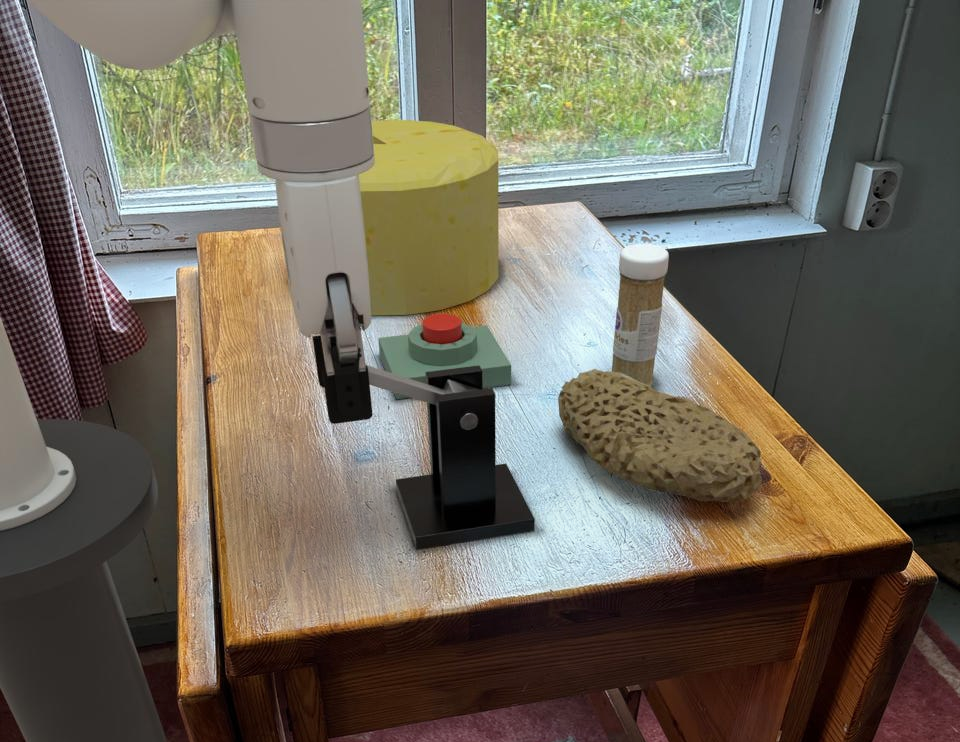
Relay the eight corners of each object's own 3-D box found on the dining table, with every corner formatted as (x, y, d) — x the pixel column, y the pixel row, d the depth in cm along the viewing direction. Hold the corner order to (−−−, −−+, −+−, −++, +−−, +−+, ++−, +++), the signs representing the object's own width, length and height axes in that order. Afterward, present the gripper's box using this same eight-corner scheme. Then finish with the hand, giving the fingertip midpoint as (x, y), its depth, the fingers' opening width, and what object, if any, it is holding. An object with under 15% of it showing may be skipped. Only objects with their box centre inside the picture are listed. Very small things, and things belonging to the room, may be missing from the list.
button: (427, 348, 98) (426, 331, 97) (419, 332, 101) (418, 316, 100) (465, 343, 99) (465, 327, 98) (457, 327, 102) (456, 311, 101)
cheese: (290, 244, 131) (273, 121, 121) (481, 231, 134) (480, 110, 124) (294, 323, 112) (273, 185, 102) (516, 306, 114) (518, 170, 104)
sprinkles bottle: (601, 378, 100) (611, 246, 92) (639, 369, 102) (653, 239, 93) (623, 397, 97) (636, 262, 88) (662, 388, 99) (679, 254, 90)
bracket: (416, 549, 79) (406, 418, 71) (396, 490, 85) (385, 365, 77) (534, 530, 80) (538, 401, 72) (506, 474, 87) (506, 350, 79)
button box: (396, 399, 98) (393, 362, 95) (379, 357, 105) (376, 321, 102) (511, 384, 100) (511, 347, 97) (487, 344, 107) (486, 308, 104)
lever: (329, 393, 70) (340, 363, 69) (321, 363, 74) (331, 334, 73) (477, 437, 75) (490, 410, 74) (462, 407, 79) (474, 380, 78)
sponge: (541, 445, 93) (633, 518, 76) (551, 362, 89) (651, 420, 73) (662, 446, 97) (774, 515, 81) (677, 366, 94) (798, 422, 77)
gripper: (245, 112, 67) (284, 359, 79) (265, 186, 55) (308, 465, 67) (352, 103, 68) (375, 348, 80) (396, 174, 56) (415, 450, 68)
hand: (345, 399), depth 73 cm, fingers closed on lever, 5 cm apart
